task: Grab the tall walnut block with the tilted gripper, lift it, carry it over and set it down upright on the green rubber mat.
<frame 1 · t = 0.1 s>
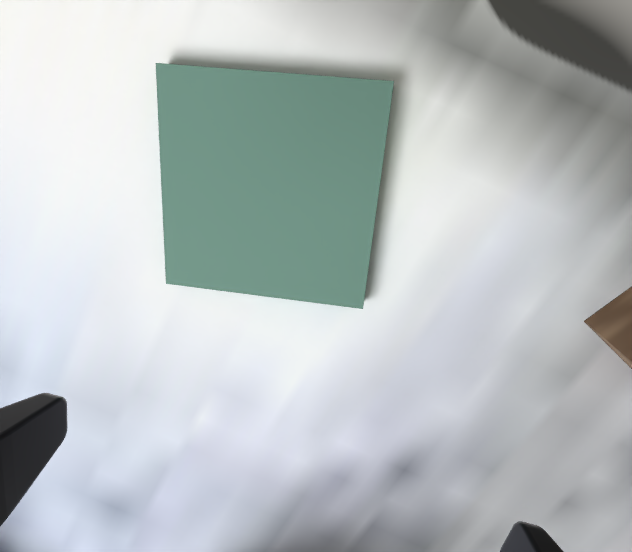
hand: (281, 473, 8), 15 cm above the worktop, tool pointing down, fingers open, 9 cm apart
green mat: (271, 191, 21), on the worktop
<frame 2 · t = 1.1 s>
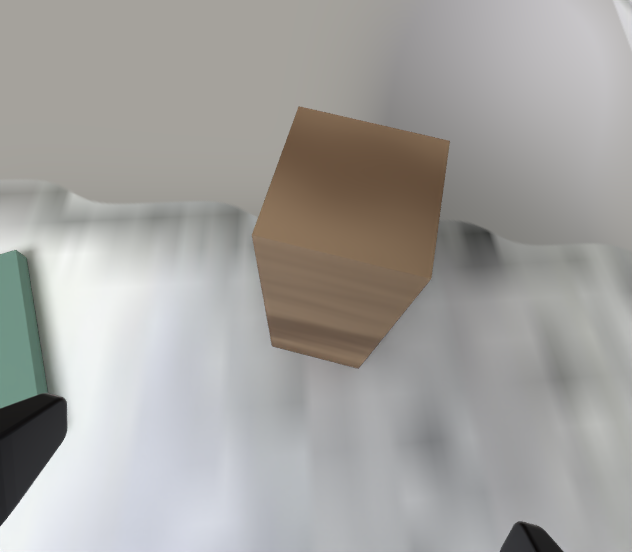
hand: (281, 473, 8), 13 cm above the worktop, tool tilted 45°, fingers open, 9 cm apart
walnut block: (325, 316, 23), on the worktop
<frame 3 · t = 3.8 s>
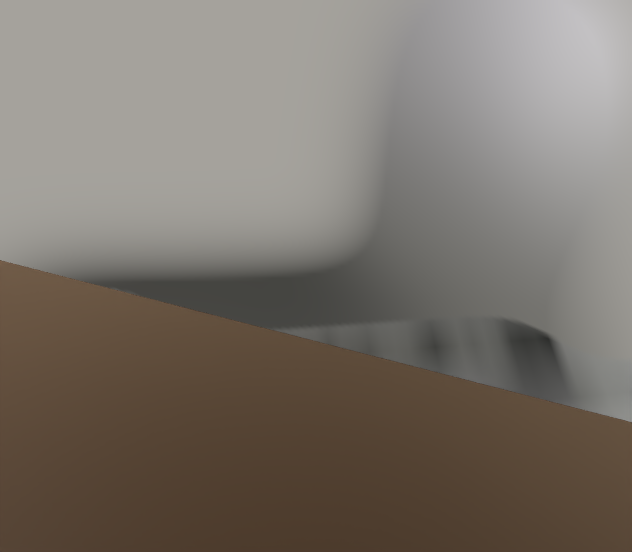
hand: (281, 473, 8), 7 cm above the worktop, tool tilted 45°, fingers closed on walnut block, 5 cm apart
walnut block: (274, 509, 13), on the worktop, touching gripper
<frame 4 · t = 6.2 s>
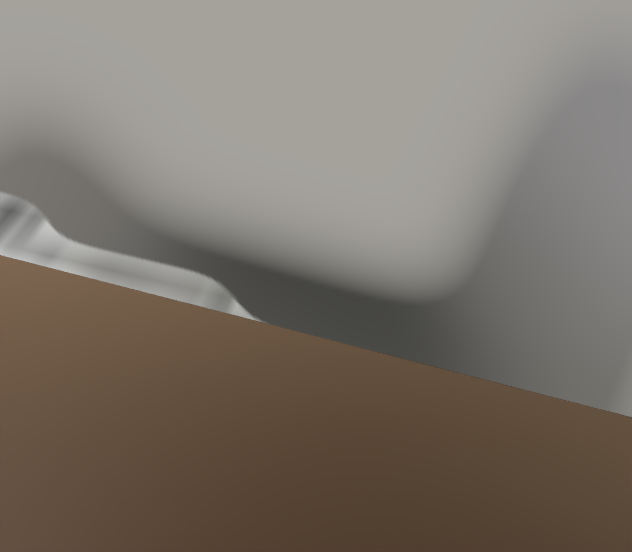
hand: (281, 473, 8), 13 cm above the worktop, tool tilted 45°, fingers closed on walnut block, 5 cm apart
walnut block: (275, 508, 13), point 7 cm above the worktop, touching gripper
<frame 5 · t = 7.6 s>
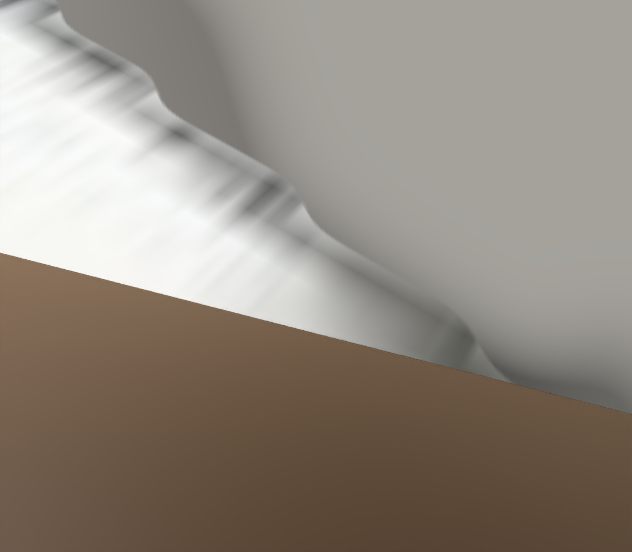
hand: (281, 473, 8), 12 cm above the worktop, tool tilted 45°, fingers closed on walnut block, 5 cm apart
walnut block: (274, 507, 13), point 6 cm above the worktop, touching gripper
when the fingers open (9 cm above the worktop, at t = 8.6 s): walnut block drops 1 cm, resting on green mat.
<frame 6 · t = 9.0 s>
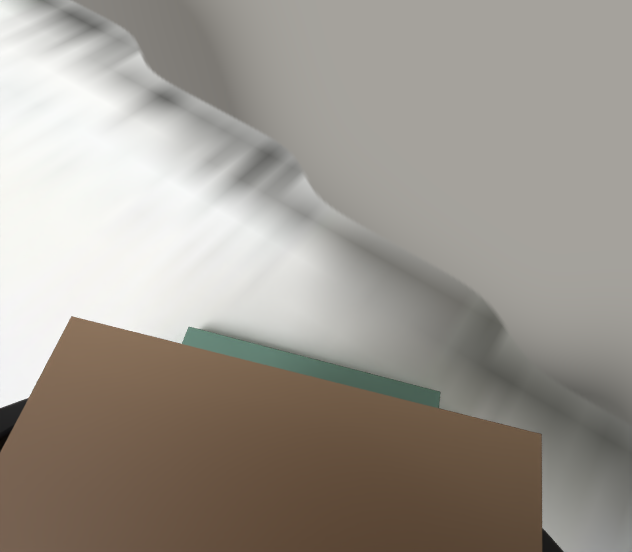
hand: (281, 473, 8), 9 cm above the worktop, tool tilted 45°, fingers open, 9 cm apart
green mat: (277, 500, 15), on the worktop
walnut block: (276, 503, 14), point 1 cm above the worktop, touching green mat
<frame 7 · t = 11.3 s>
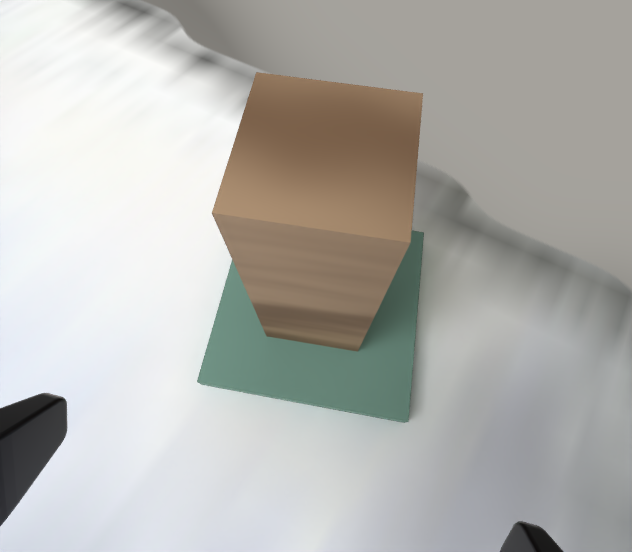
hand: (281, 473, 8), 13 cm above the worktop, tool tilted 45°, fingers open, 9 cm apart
green mat: (319, 306, 23), on the worktop
walnut block: (319, 300, 22), point 1 cm above the worktop, touching green mat
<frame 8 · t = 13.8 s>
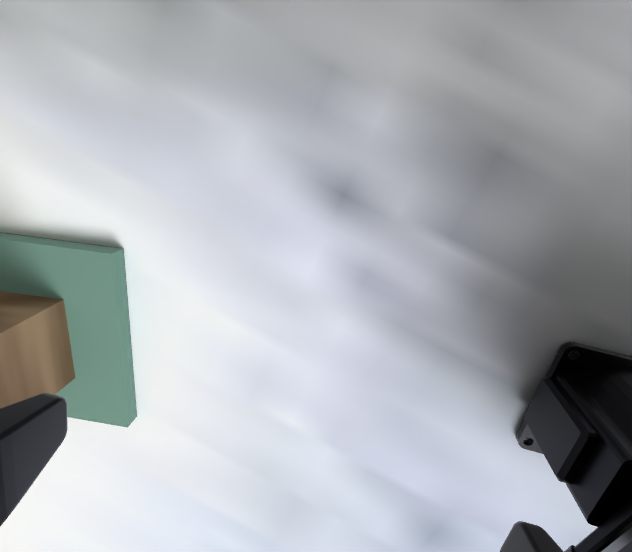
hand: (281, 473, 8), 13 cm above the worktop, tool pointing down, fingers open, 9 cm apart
green mat: (42, 326, 23), on the worktop
walnut block: (29, 334, 22), point 1 cm above the worktop, touching green mat
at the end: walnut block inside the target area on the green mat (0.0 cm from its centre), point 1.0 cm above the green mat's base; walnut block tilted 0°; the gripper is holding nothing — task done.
